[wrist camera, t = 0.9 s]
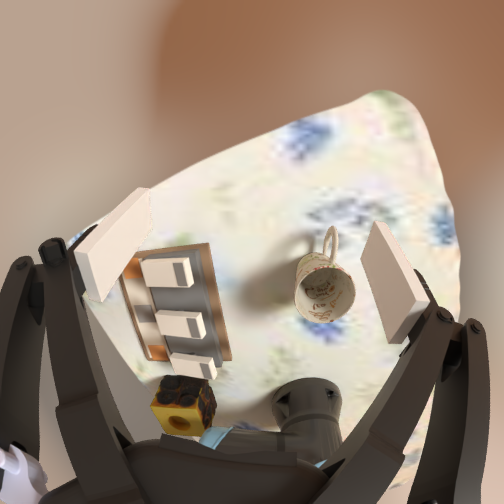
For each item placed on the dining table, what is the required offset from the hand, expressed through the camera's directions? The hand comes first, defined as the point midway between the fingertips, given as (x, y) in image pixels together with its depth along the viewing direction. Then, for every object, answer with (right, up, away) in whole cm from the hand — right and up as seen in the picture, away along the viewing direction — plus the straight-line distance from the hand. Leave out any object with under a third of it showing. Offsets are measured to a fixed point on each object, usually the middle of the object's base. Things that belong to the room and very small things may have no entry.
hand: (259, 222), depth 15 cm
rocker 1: (-13, -4, +26) cm, 30 cm away
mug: (+10, -2, +29) cm, 30 cm away
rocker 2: (-10, -21, +31) cm, 39 cm away
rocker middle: (-12, -13, +29) cm, 34 cm away
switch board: (-15, -12, +33) cm, 38 cm away
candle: (-14, -32, +39) cm, 53 cm away
